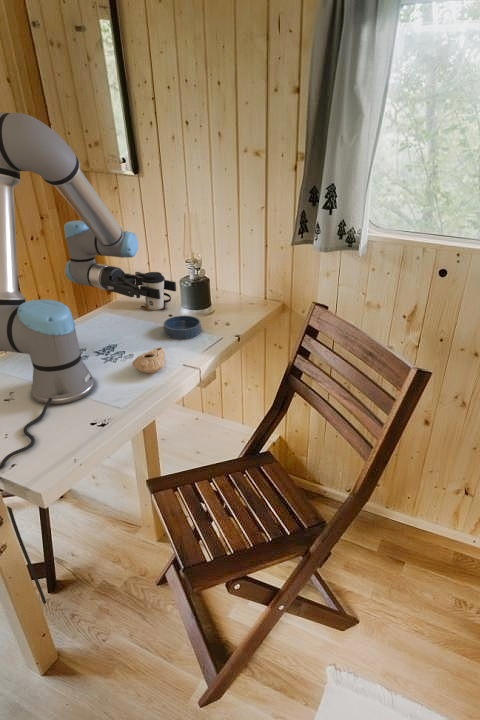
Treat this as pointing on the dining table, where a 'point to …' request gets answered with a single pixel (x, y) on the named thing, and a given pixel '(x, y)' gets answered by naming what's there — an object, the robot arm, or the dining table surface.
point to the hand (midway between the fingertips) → (167, 290)
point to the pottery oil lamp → (150, 361)
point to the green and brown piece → (164, 301)
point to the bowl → (182, 327)
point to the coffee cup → (155, 282)
